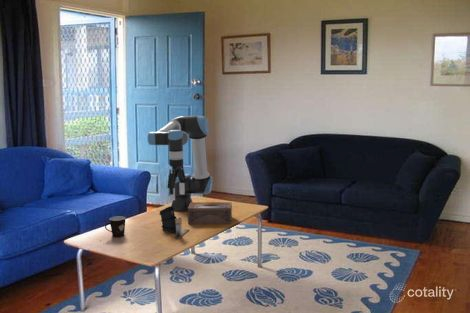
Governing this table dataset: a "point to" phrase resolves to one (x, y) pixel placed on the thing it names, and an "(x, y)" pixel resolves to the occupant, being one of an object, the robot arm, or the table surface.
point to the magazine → (168, 219)
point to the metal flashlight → (178, 227)
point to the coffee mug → (117, 226)
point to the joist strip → (182, 233)
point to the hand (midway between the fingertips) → (177, 197)
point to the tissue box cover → (210, 213)
